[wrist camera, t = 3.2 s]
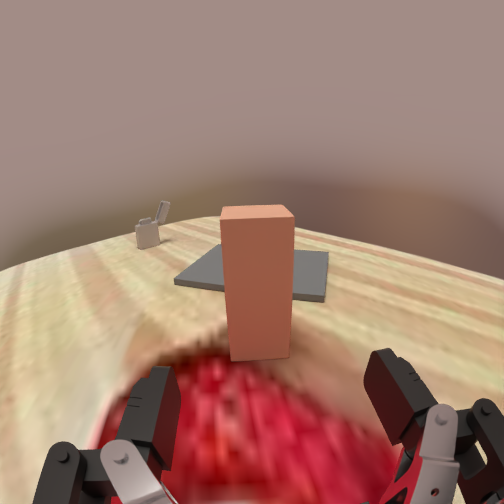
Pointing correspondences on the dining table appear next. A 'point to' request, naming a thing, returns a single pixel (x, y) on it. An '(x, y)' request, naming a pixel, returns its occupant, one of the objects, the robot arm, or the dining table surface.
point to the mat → (304, 273)
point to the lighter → (151, 228)
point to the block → (258, 280)
